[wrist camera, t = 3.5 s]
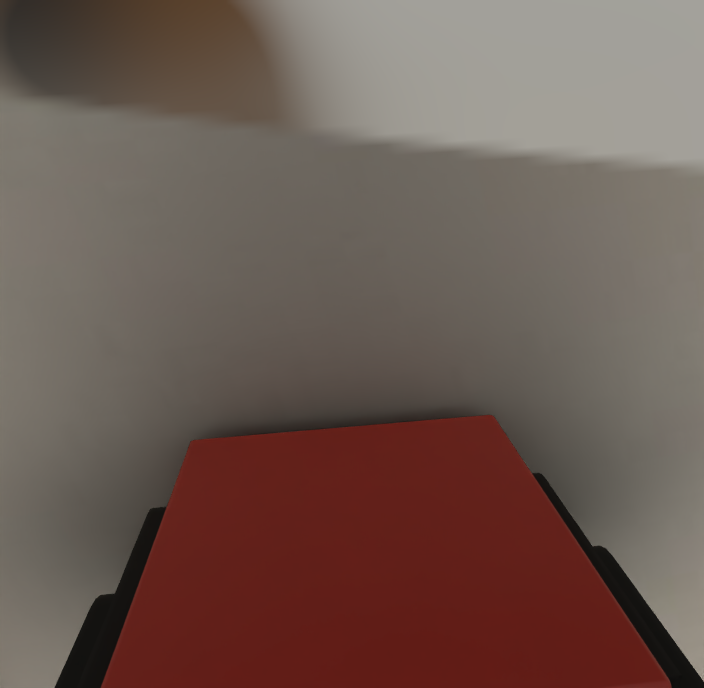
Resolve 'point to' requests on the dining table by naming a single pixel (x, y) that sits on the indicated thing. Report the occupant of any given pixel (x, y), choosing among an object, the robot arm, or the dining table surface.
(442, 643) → the red block
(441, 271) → the dining table surface
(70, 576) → the dining table surface
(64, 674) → the robot arm
